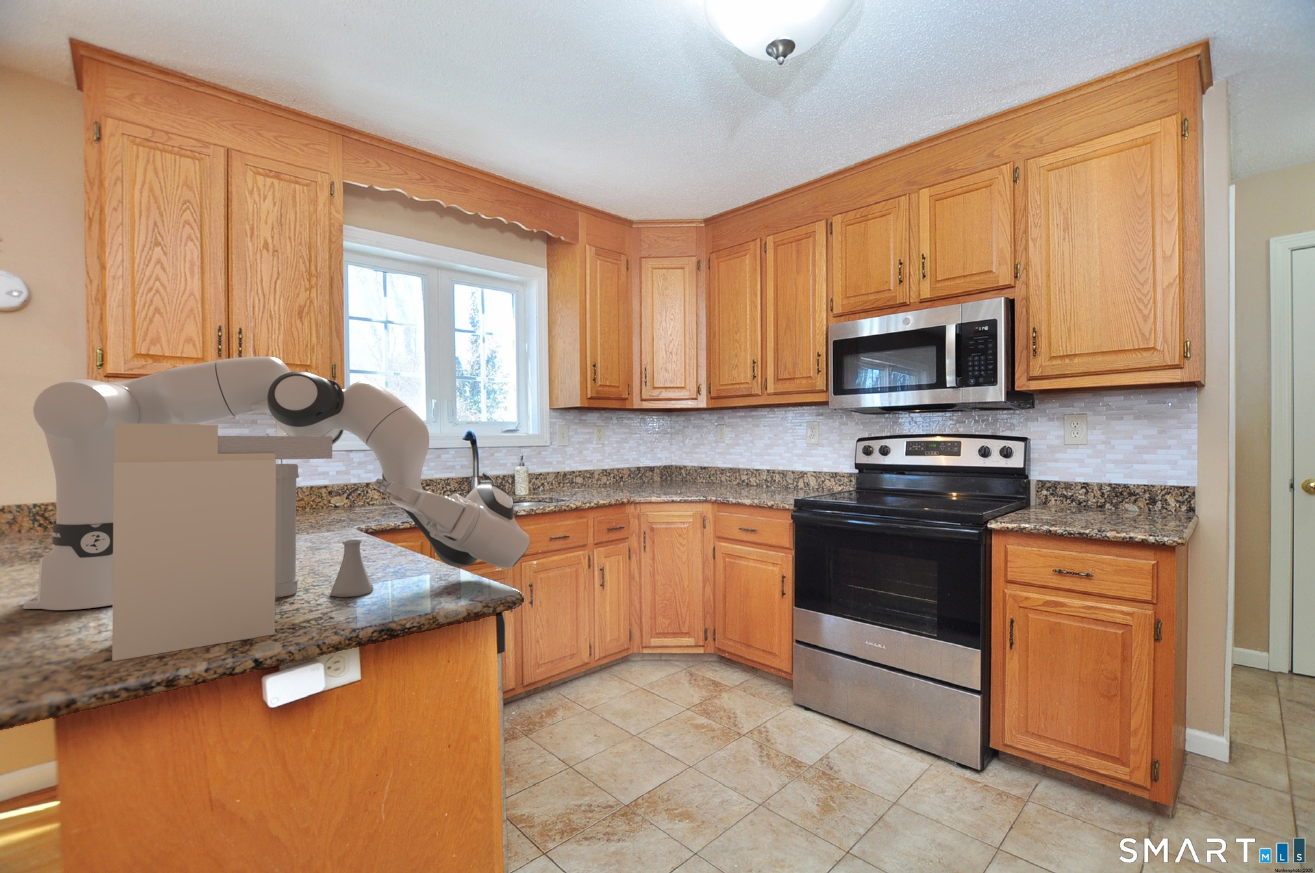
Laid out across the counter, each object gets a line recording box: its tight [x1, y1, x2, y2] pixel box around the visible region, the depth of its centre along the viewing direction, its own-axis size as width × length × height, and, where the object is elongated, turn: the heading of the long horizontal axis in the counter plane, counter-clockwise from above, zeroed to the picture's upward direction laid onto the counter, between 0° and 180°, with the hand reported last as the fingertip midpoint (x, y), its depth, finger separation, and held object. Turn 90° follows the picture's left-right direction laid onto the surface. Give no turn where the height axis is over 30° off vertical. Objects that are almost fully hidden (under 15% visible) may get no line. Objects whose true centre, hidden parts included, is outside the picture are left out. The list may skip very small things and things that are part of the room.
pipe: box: [265, 433, 300, 599], centre depth 112 cm, size 6×6×30 cm
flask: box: [329, 538, 374, 598], centre depth 113 cm, size 7×7×10 cm
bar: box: [218, 435, 333, 460], centre depth 93 cm, size 4×18×4 cm, turn 127°
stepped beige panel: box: [111, 423, 277, 662], centre depth 88 cm, size 10×18×31 cm, turn 128°
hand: (382, 483), depth 103 cm, fingers open, 8 cm apart
